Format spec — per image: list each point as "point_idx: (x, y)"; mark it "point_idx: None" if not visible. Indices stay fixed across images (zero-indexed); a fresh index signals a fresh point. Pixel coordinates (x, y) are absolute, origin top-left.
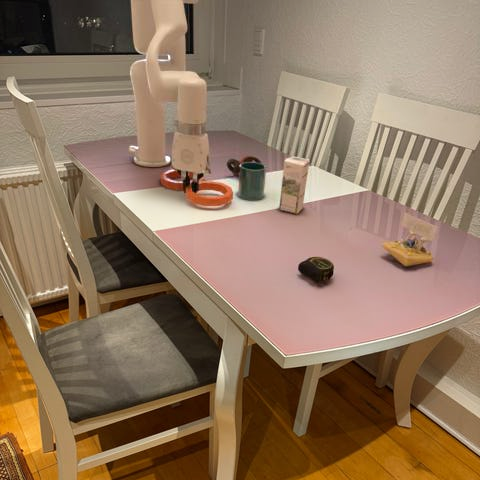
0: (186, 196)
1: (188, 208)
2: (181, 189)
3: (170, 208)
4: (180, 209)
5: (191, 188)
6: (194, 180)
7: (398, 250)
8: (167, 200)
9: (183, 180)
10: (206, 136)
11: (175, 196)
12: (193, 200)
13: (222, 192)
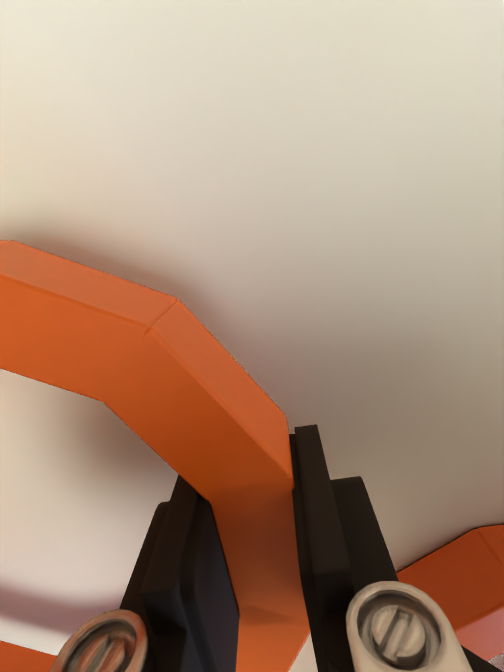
0: (221, 349)
1: (85, 176)
2: (452, 547)
3: (260, 5)
4: (136, 73)
5: (194, 487)
6: (117, 646)
7: None
8: (441, 227)
9: (388, 583)
10: None
11: (420, 384)
12: (9, 250)
13: (9, 652)
